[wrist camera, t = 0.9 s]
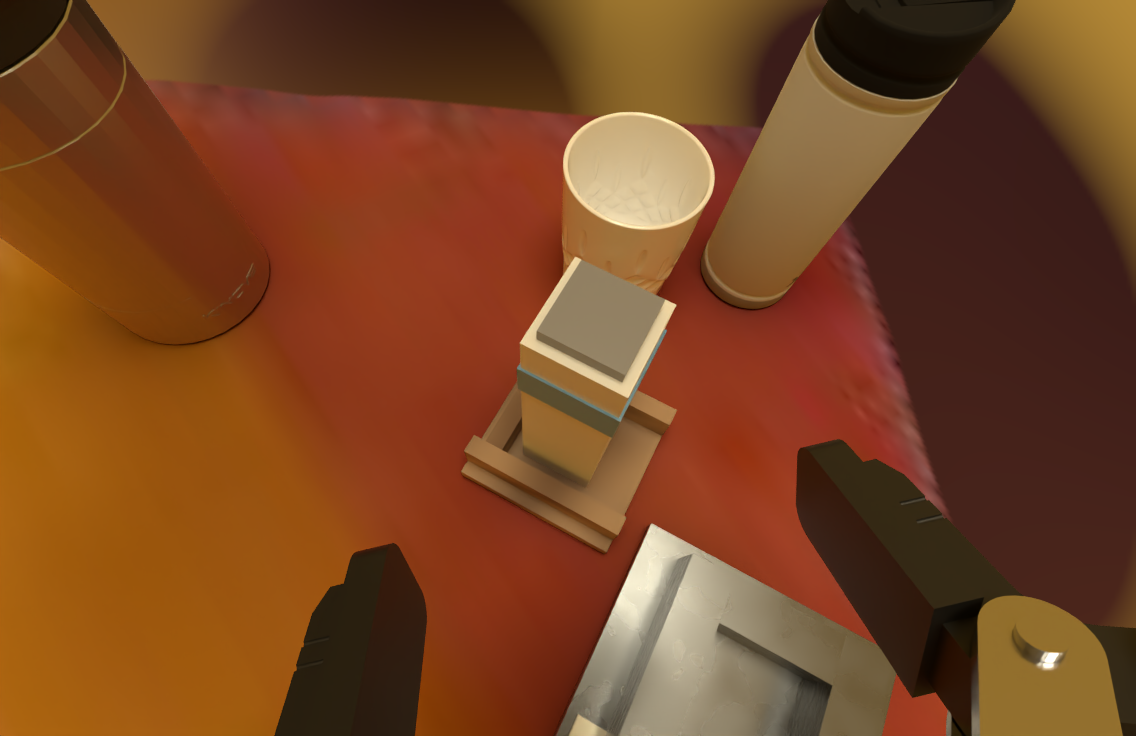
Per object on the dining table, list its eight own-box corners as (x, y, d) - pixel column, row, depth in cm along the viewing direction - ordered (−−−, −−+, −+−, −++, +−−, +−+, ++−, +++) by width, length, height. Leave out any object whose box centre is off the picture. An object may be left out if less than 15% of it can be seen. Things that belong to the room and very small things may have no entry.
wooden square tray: (462, 475, 31) (456, 462, 29) (539, 351, 35) (540, 328, 32) (604, 554, 30) (611, 548, 27) (669, 417, 34) (681, 399, 31)
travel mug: (804, 305, 38) (1065, 16, 19) (711, 314, 37) (892, 21, 19) (778, 231, 40) (987, -88, 22) (690, 238, 39) (831, -87, 21)
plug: (520, 454, 31) (515, 335, 18) (555, 394, 33) (575, 243, 19) (586, 490, 31) (632, 395, 17) (619, 426, 32) (684, 294, 19)
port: (544, 754, 26) (547, 777, 23) (647, 526, 31) (663, 514, 27) (823, 927, 24) (874, 982, 21) (888, 656, 29) (940, 662, 25)
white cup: (626, 211, 40) (656, 92, 31) (692, 293, 37) (745, 190, 28) (532, 256, 38) (534, 143, 29) (595, 346, 35) (619, 253, 26)
